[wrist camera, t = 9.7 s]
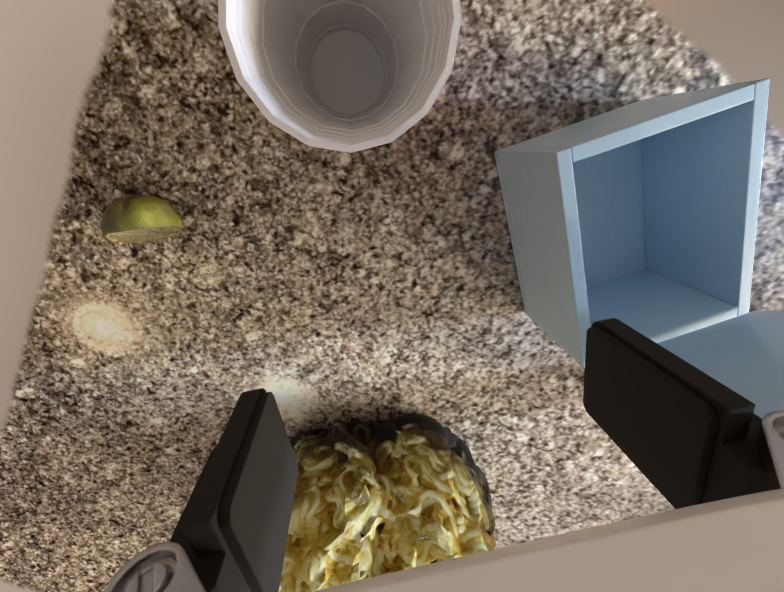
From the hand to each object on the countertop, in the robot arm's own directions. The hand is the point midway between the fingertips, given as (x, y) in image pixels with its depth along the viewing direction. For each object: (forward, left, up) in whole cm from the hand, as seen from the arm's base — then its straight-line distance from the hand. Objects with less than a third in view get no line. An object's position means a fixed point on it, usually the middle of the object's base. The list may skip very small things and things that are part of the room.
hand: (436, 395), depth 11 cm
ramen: (+30, -1, -23) cm, 38 cm away
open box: (-1, +18, -23) cm, 29 cm away
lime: (-2, -18, -23) cm, 29 cm away
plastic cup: (-12, -2, -23) cm, 26 cm away
